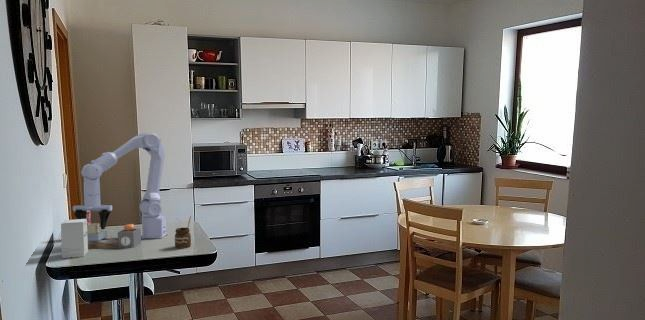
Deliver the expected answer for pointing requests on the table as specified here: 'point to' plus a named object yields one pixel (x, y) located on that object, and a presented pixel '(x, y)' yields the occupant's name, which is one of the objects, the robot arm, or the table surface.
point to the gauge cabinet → (129, 238)
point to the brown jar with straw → (182, 237)
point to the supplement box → (74, 238)
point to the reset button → (129, 227)
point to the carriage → (95, 232)
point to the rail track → (104, 243)
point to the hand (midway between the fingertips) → (93, 229)
